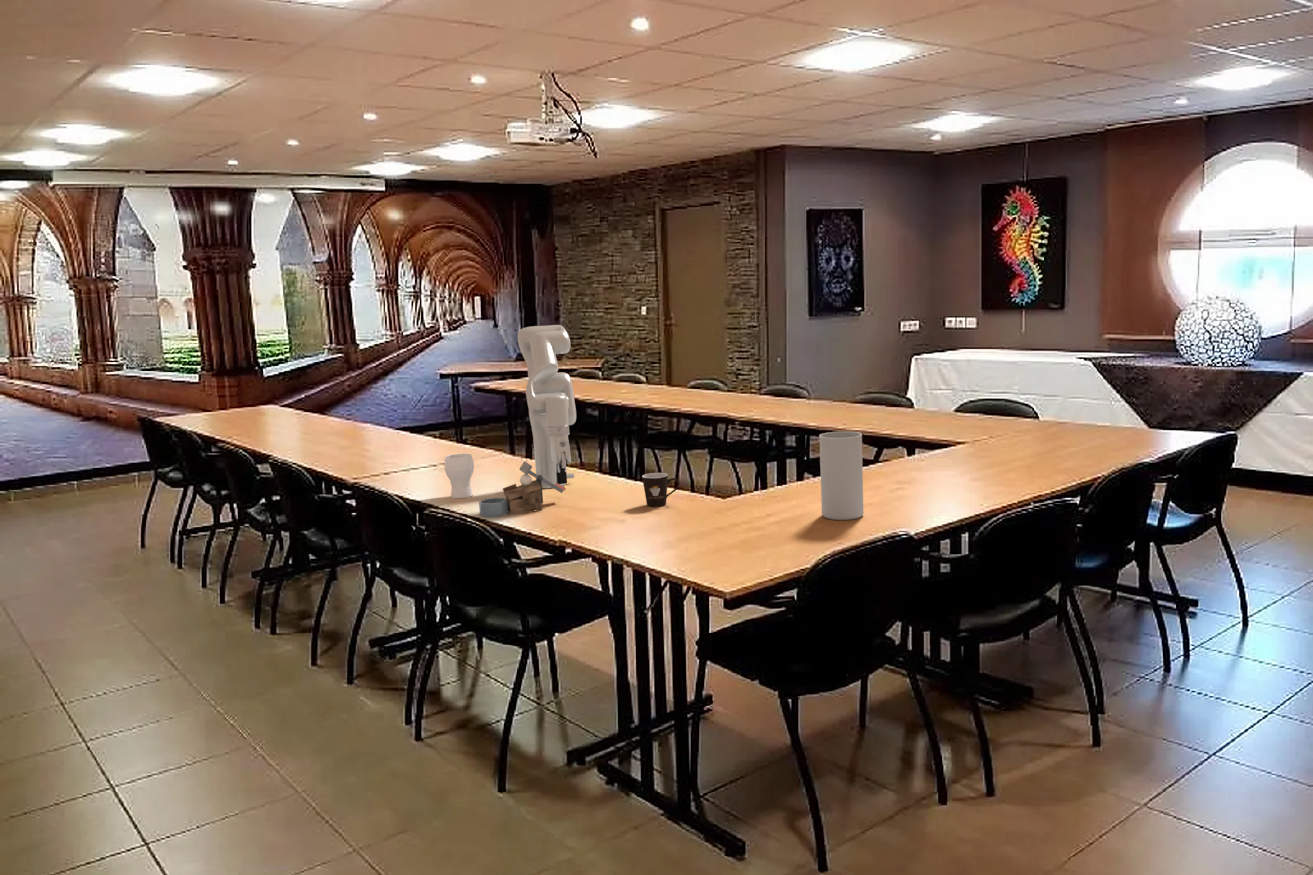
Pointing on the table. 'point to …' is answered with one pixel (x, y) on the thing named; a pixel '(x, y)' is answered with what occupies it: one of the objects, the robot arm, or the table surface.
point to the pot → (493, 507)
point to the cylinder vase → (841, 475)
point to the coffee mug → (657, 488)
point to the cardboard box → (524, 497)
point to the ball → (525, 480)
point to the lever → (540, 477)
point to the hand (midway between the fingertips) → (562, 483)
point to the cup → (459, 474)
